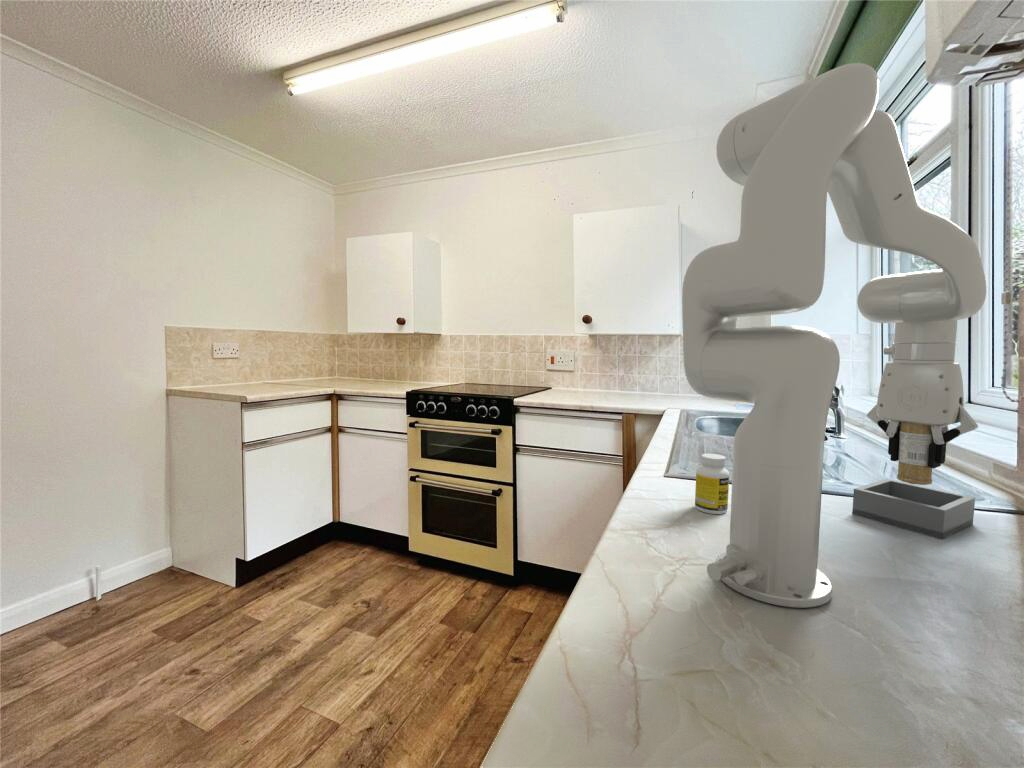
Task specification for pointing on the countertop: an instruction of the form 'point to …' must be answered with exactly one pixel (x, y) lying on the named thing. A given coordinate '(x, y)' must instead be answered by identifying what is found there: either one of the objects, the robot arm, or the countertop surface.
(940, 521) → the charcoal bin
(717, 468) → the supplement bottle
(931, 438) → the sprinkles bottle
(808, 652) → the countertop surface
